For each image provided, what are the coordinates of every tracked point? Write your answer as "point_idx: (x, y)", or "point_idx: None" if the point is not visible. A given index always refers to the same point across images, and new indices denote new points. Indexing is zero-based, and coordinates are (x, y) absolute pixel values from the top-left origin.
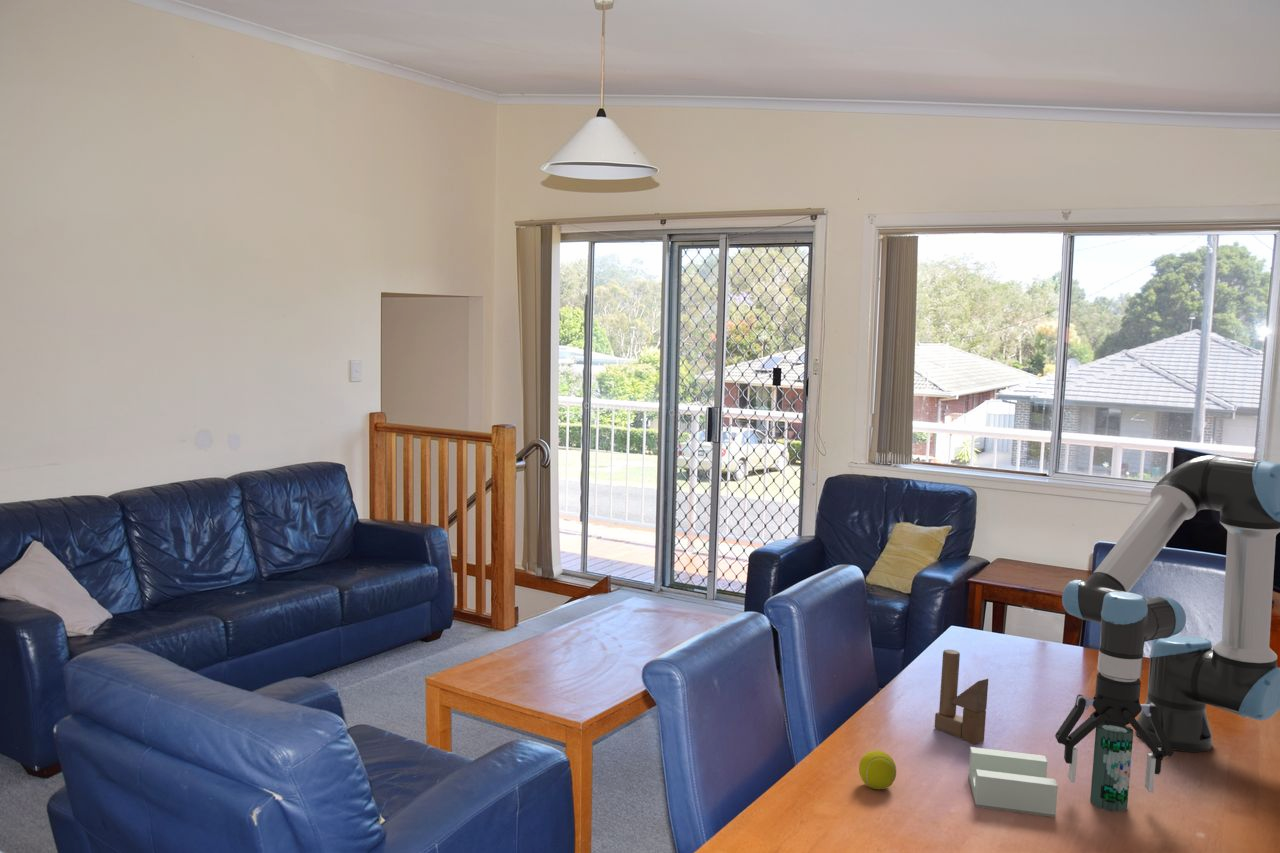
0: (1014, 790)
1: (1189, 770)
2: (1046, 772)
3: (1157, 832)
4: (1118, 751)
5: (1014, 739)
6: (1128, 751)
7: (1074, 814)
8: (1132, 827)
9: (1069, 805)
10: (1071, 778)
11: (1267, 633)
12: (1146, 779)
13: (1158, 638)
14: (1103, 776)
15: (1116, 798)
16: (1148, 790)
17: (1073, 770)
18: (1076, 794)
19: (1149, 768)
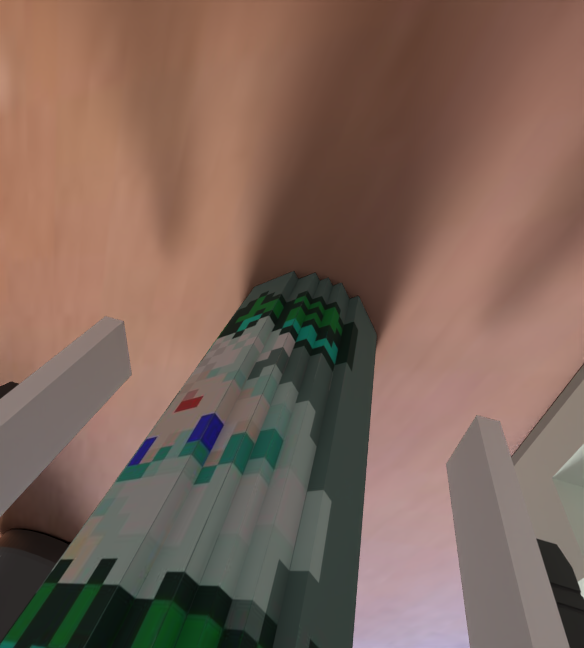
0: None
1: (38, 481)
2: (564, 510)
3: (172, 58)
4: (169, 589)
5: (402, 636)
6: (73, 567)
7: (545, 232)
8: (285, 104)
9: (500, 323)
10: (503, 439)
11: None
12: (104, 388)
13: None
14: (340, 404)
15: (287, 307)
16: (120, 327)
17: (508, 482)
18: (400, 405)
19: (36, 418)
